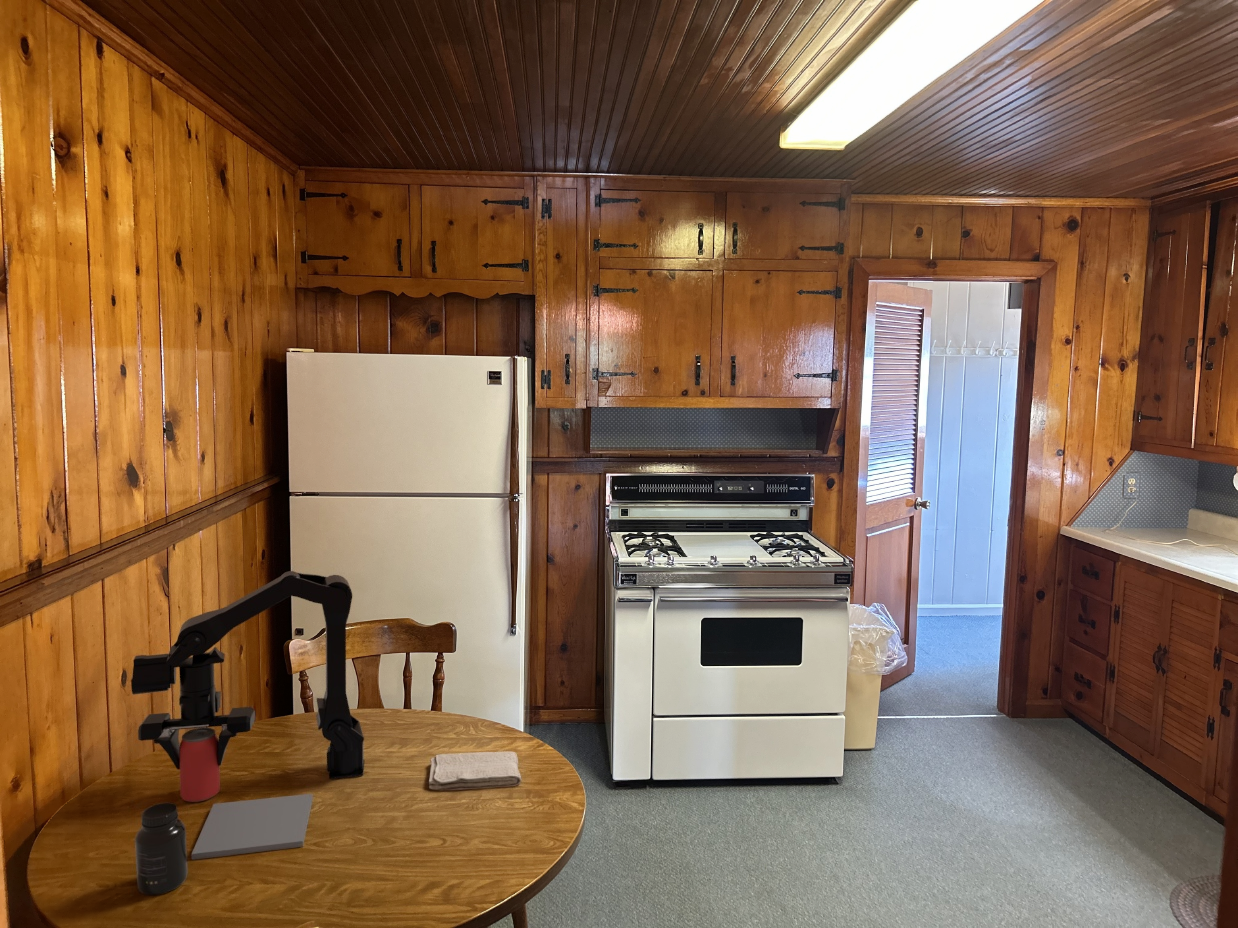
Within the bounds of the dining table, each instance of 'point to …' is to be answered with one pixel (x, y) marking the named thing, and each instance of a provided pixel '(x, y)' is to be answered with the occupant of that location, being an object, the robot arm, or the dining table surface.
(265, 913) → the dining table surface
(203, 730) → the beer can
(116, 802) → the dining table surface
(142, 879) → the supplement bottle
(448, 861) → the dining table surface
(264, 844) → the slate board
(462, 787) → the washcloth
